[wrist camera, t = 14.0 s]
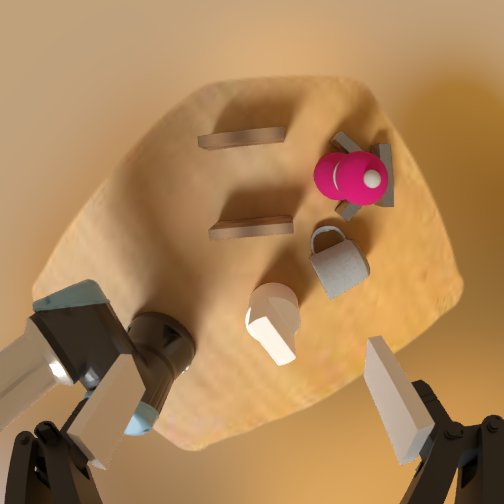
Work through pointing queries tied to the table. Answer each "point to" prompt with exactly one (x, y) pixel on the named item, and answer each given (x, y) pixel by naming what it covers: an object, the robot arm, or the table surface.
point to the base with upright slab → (274, 320)
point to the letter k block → (383, 154)
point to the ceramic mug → (339, 264)
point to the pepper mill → (352, 177)
